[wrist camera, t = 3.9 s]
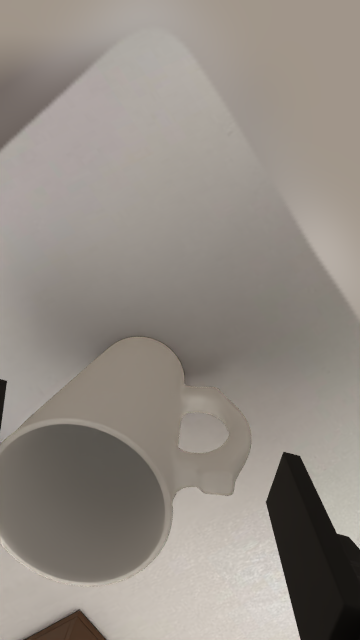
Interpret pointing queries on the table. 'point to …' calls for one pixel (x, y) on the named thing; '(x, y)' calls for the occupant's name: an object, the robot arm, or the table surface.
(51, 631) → the tray
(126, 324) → the table surface
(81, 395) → the mug
